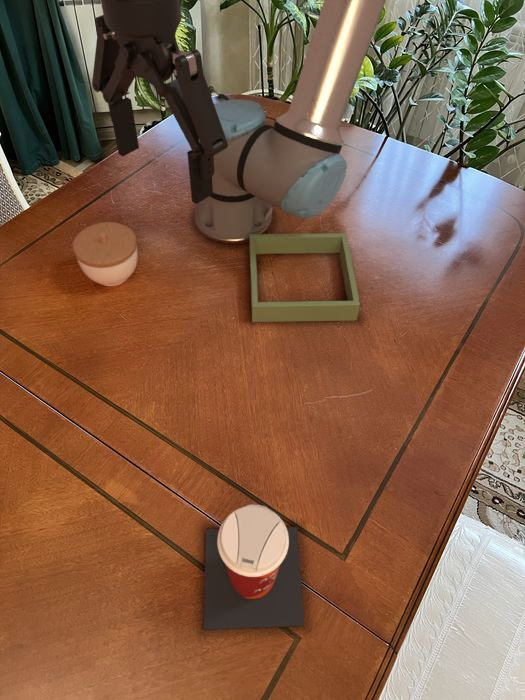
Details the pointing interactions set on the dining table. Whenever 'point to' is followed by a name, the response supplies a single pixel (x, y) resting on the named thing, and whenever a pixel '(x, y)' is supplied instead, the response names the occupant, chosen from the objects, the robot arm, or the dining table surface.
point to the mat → (241, 612)
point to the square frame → (304, 308)
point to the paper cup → (253, 549)
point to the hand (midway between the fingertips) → (164, 173)
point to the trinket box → (106, 252)
